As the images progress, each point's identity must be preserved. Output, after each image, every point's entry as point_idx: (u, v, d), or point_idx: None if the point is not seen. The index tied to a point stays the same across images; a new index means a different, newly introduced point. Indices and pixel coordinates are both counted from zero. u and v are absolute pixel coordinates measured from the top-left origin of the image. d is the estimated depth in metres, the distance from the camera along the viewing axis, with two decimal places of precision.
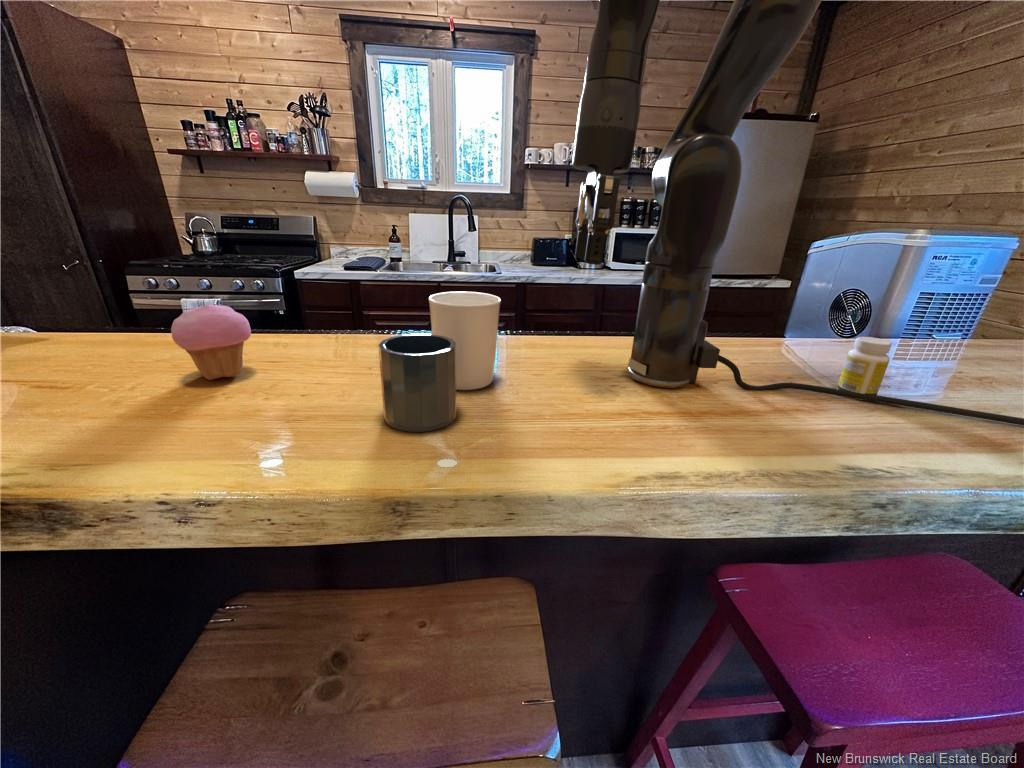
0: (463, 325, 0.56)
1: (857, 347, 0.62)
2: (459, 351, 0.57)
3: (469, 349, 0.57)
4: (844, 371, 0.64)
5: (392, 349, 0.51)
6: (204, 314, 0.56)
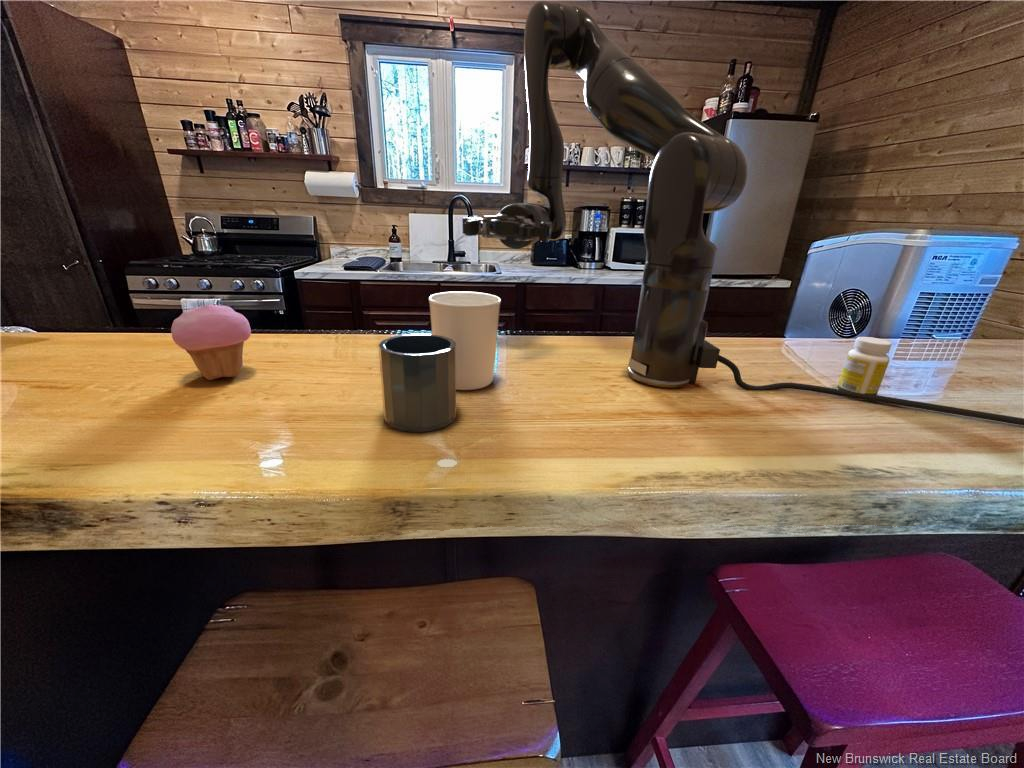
0: (463, 325, 0.56)
1: (857, 347, 0.62)
2: (459, 351, 0.57)
3: (469, 349, 0.57)
4: (844, 371, 0.64)
5: (392, 349, 0.51)
6: (204, 314, 0.56)
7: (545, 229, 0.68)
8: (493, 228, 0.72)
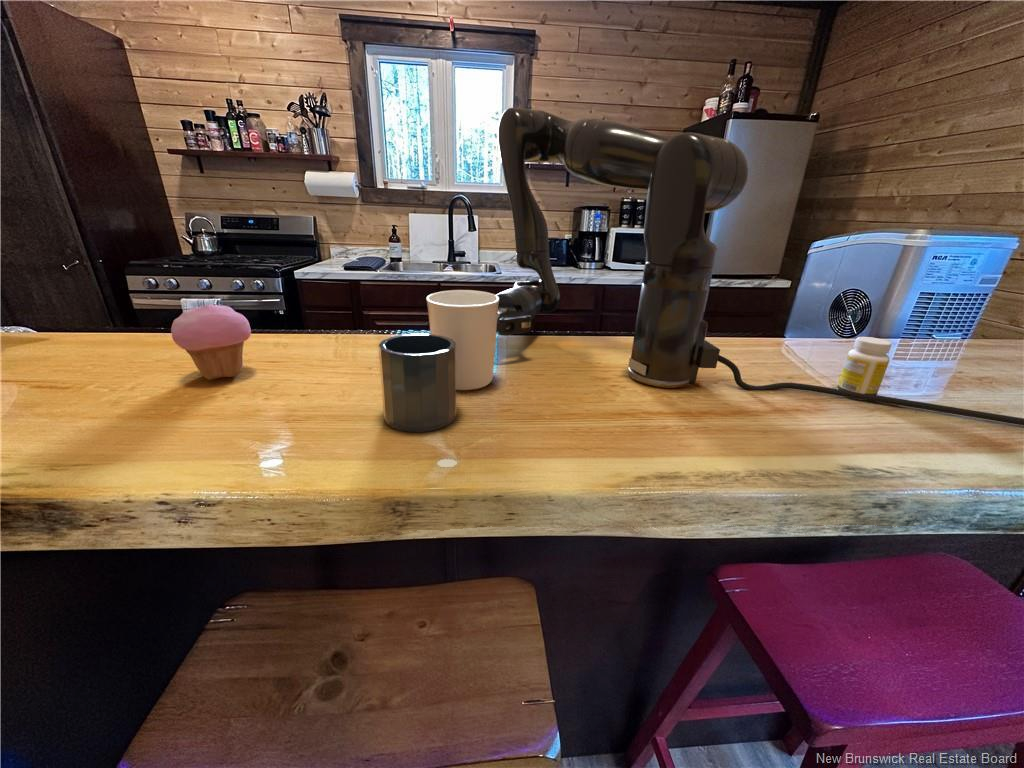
0: (462, 326, 0.56)
1: (857, 347, 0.62)
2: (458, 351, 0.57)
3: (468, 350, 0.57)
4: (844, 371, 0.64)
5: (392, 349, 0.51)
6: (204, 314, 0.56)
7: (501, 324, 0.68)
8: None
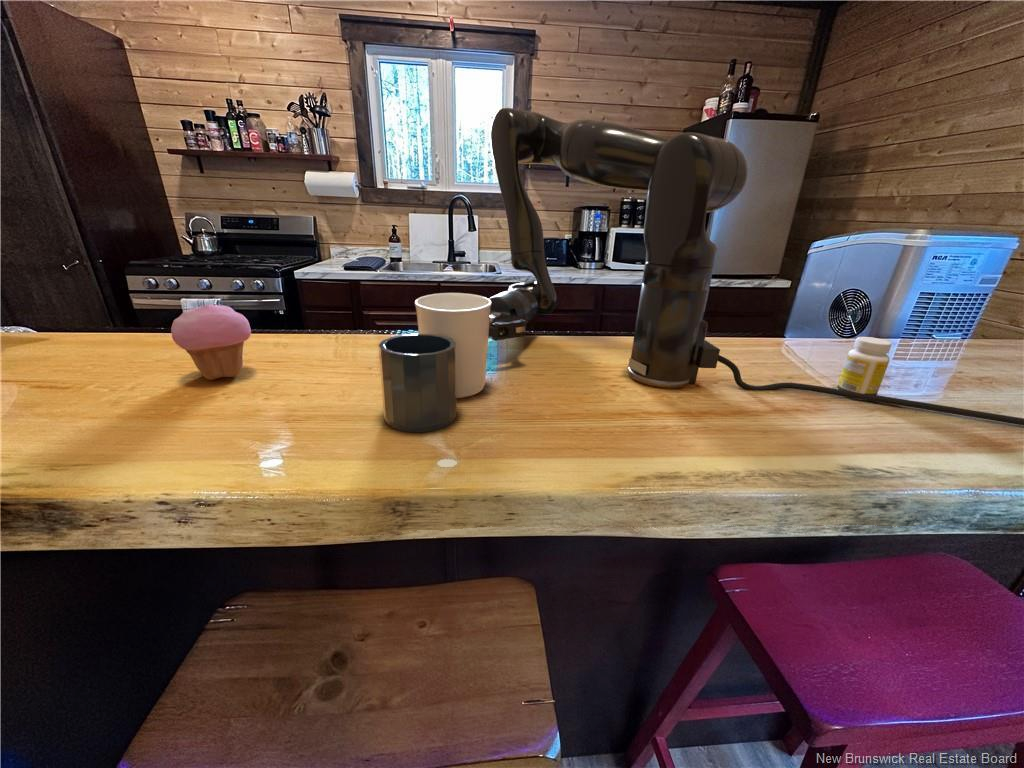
0: (451, 331, 0.53)
1: (857, 347, 0.62)
2: None
3: (458, 356, 0.55)
4: (844, 371, 0.64)
5: (392, 349, 0.51)
6: (204, 314, 0.56)
7: (495, 329, 0.65)
8: None
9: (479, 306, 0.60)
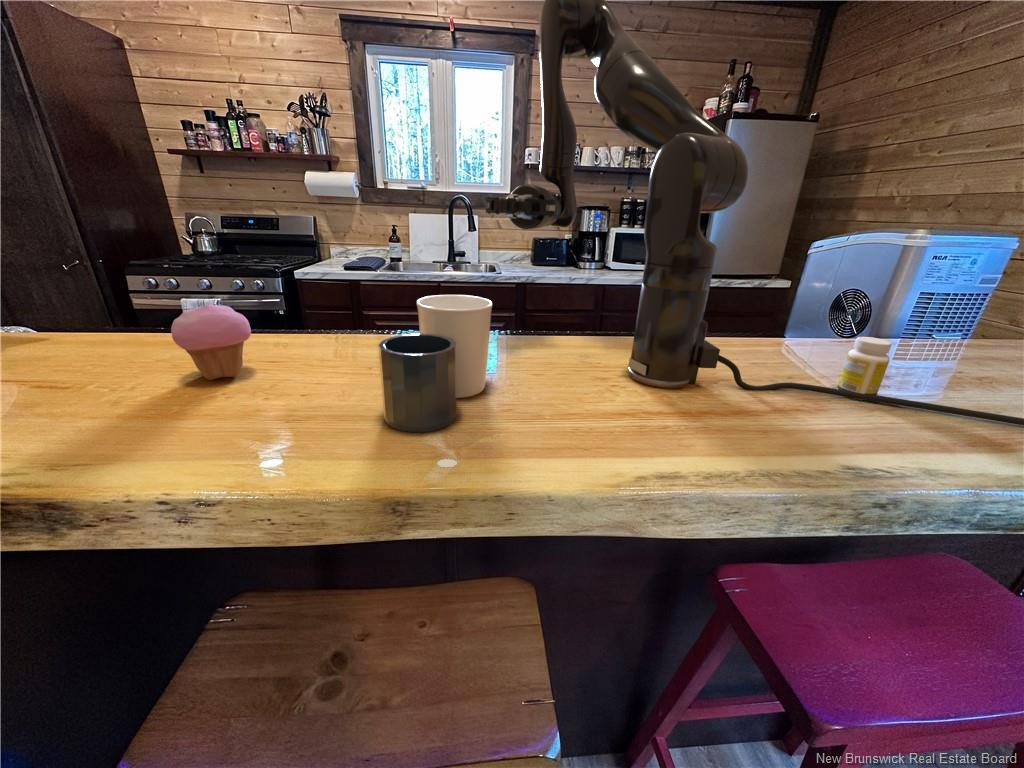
0: (452, 331, 0.53)
1: (857, 347, 0.62)
2: None
3: (459, 355, 0.55)
4: (844, 371, 0.64)
5: (392, 349, 0.51)
6: (204, 314, 0.56)
7: (527, 204, 0.69)
8: None
9: (480, 308, 0.60)
